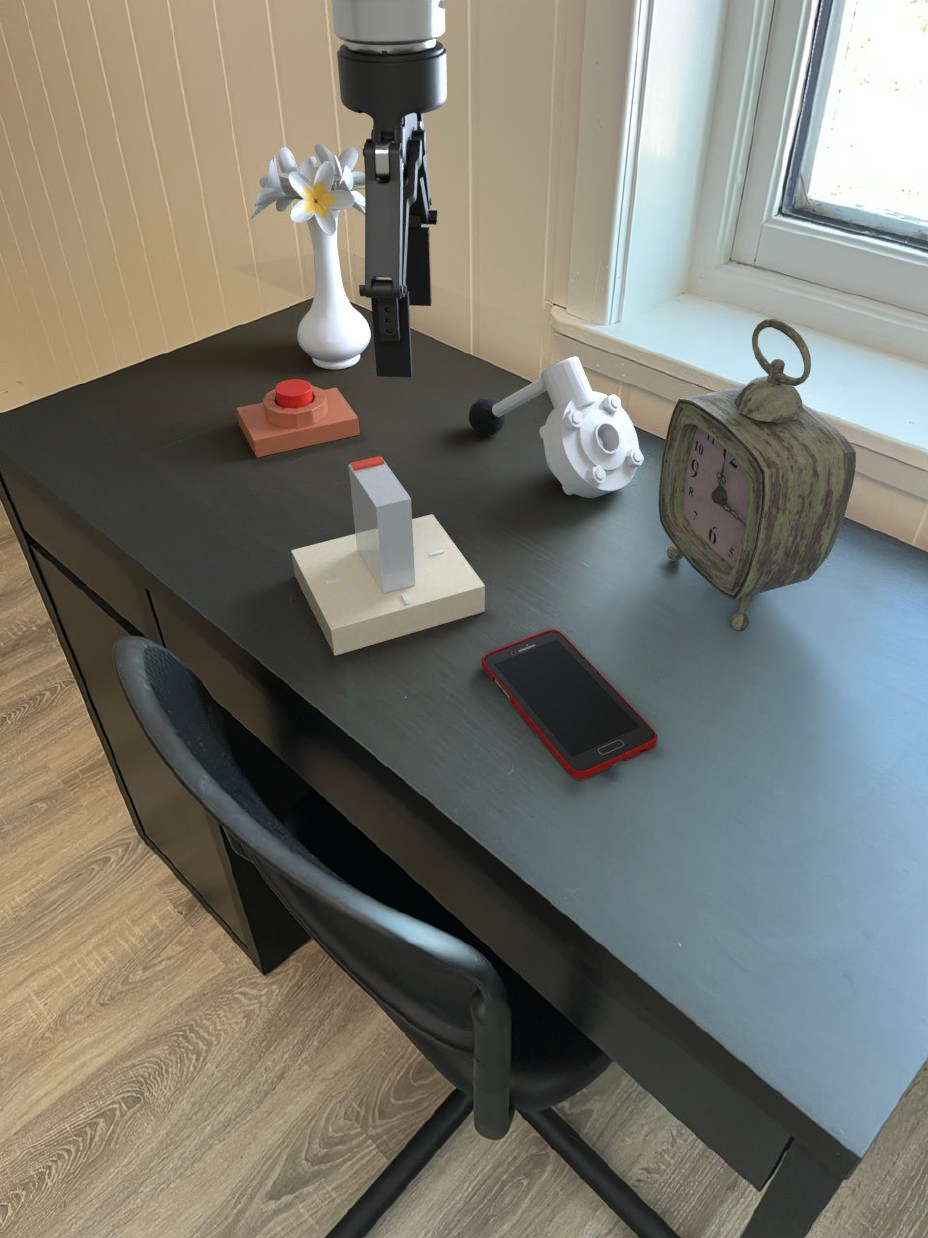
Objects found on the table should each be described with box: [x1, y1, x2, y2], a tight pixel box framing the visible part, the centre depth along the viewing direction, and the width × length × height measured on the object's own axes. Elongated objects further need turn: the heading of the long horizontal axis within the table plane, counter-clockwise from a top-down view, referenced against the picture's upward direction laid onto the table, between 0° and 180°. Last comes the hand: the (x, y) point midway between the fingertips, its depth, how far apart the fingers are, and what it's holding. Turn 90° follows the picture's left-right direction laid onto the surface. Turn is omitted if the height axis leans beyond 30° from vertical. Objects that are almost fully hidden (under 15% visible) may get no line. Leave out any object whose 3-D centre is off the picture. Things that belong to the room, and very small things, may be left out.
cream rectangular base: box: [290, 513, 486, 657], centre depth 85 cm, size 14×12×3 cm
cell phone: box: [481, 628, 658, 781], centre depth 75 cm, size 8×15×1 cm, turn 29°
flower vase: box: [250, 143, 372, 370], centre depth 114 cm, size 13×18×25 cm
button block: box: [236, 384, 361, 458], centre depth 107 cm, size 12×8×4 cm, turn 114°
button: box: [274, 378, 313, 408], centre depth 106 cm, size 4×4×2 cm
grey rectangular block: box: [348, 455, 416, 594], centre depth 81 cm, size 7×3×9 cm, turn 24°
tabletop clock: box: [658, 318, 857, 632], centre depth 78 cm, size 14×9×25 cm, turn 21°
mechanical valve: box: [468, 356, 645, 499], centre depth 101 cm, size 10×18×15 cm
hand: (406, 337), depth 78 cm, fingers open, 13 cm apart
